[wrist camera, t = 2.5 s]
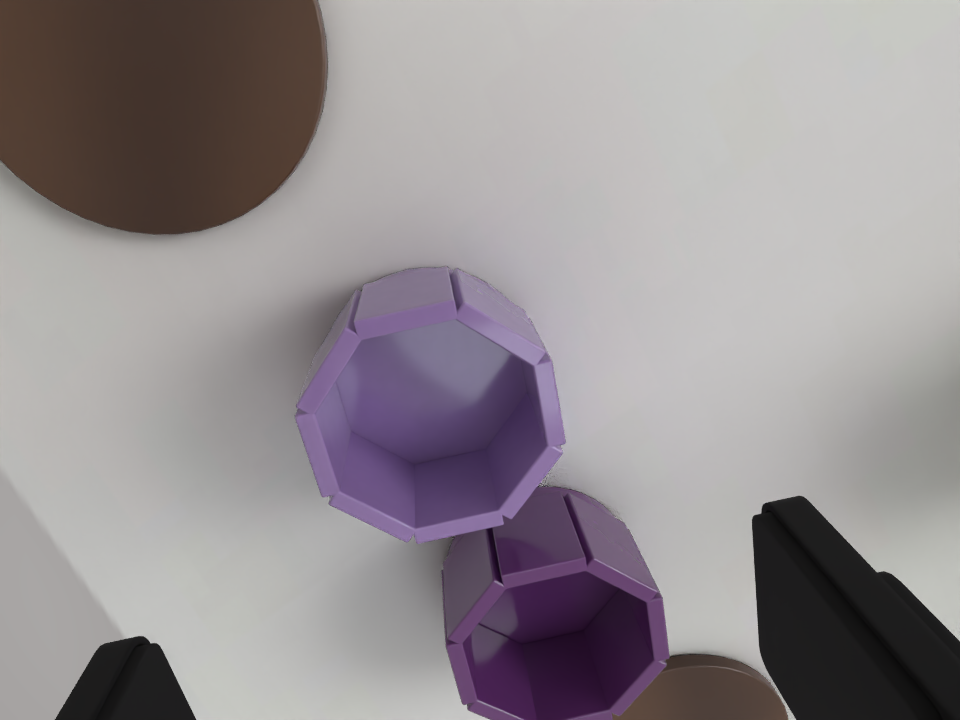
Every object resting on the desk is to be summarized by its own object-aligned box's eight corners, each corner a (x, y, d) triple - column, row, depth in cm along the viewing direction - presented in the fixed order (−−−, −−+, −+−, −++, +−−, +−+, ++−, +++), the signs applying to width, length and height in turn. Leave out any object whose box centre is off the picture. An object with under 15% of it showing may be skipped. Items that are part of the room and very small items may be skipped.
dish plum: (466, 653, 25) (475, 752, 21) (426, 509, 22) (429, 591, 19) (636, 615, 25) (676, 707, 21) (616, 467, 22) (656, 541, 19)
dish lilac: (354, 481, 22) (342, 561, 18) (295, 293, 19) (267, 340, 16) (549, 438, 22) (577, 509, 18) (514, 245, 19) (538, 280, 16)
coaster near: (43, 262, 18) (31, 267, 18) (-135, -129, 15) (-156, -137, 14) (367, 192, 18) (366, 195, 18) (264, -211, 15) (258, -223, 15)
